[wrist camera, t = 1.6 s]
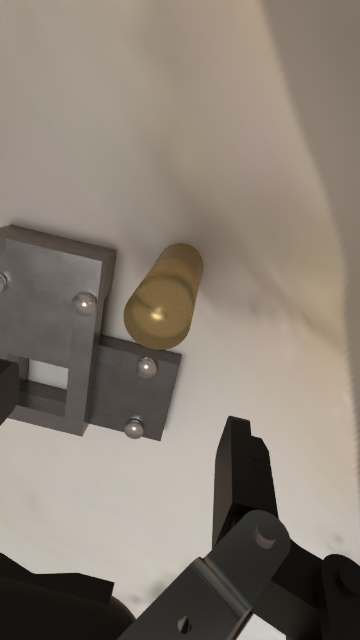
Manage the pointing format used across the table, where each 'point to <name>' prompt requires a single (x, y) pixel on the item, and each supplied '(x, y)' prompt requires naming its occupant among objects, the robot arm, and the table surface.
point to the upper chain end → (53, 317)
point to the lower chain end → (123, 387)
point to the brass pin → (165, 299)
